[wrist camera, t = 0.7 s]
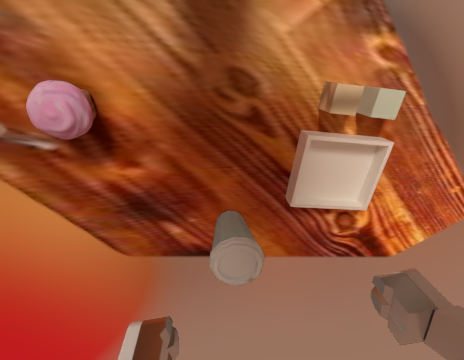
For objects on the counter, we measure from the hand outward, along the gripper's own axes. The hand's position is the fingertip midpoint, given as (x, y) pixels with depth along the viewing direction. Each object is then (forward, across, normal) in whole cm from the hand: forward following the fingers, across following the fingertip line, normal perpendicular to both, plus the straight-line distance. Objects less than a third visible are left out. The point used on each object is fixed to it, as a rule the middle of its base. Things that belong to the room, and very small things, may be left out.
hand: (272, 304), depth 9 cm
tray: (+41, -22, +16) cm, 49 cm away
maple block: (+41, -22, +1) cm, 46 cm away
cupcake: (+41, +25, -6) cm, 48 cm away
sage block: (+41, -30, +3) cm, 51 cm away
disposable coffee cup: (+41, +3, +25) cm, 48 cm away
